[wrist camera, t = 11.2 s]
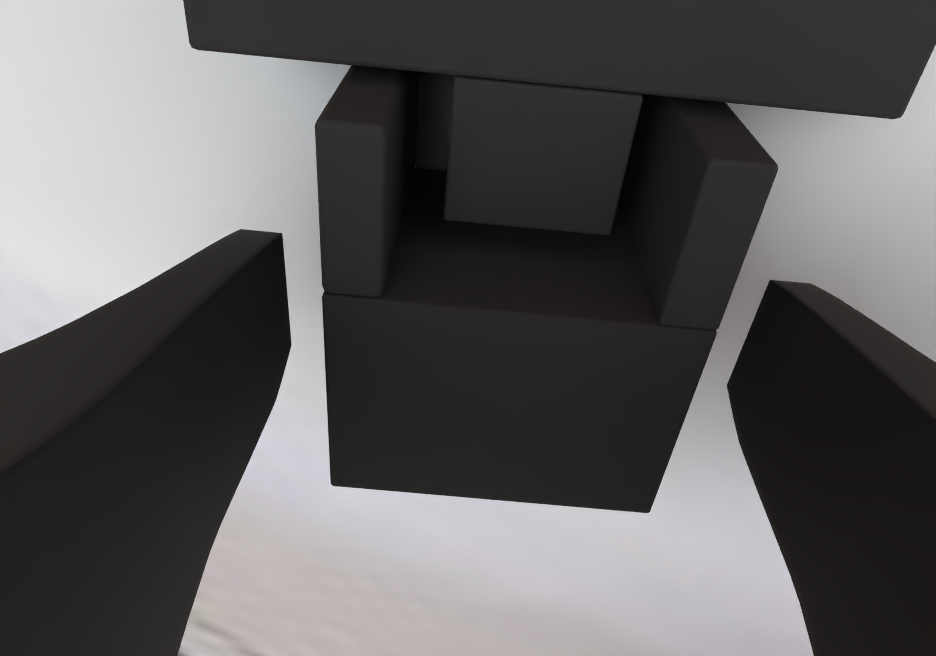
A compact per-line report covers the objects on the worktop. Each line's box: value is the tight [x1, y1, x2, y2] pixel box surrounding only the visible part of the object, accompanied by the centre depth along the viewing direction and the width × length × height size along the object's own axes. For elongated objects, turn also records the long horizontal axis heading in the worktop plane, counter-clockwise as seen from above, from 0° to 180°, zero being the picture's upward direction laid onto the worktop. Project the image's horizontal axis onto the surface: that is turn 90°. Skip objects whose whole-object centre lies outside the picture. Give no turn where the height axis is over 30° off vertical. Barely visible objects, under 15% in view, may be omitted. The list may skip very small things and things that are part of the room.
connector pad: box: [315, 65, 778, 513], centre depth 11 cm, size 6×5×4 cm
